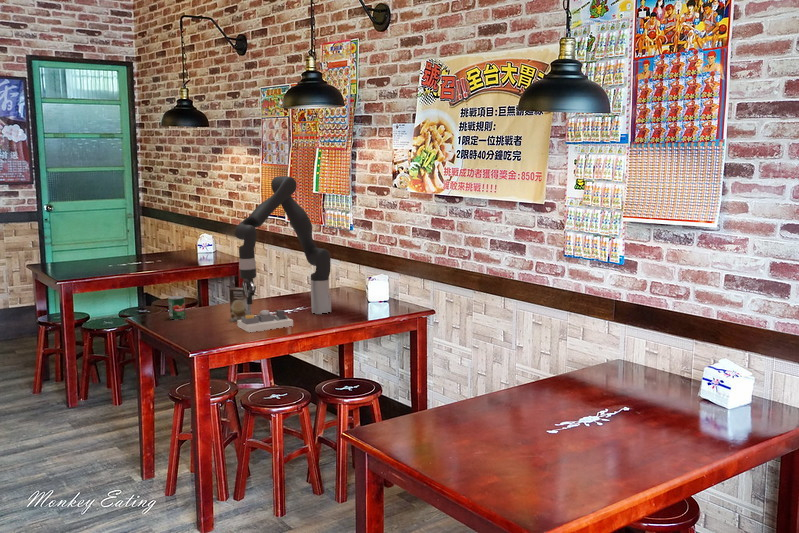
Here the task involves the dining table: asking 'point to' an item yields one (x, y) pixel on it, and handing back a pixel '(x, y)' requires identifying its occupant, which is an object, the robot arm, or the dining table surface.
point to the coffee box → (238, 304)
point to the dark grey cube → (280, 314)
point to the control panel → (263, 323)
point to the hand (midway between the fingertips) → (249, 304)
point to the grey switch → (265, 313)
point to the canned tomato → (176, 307)
